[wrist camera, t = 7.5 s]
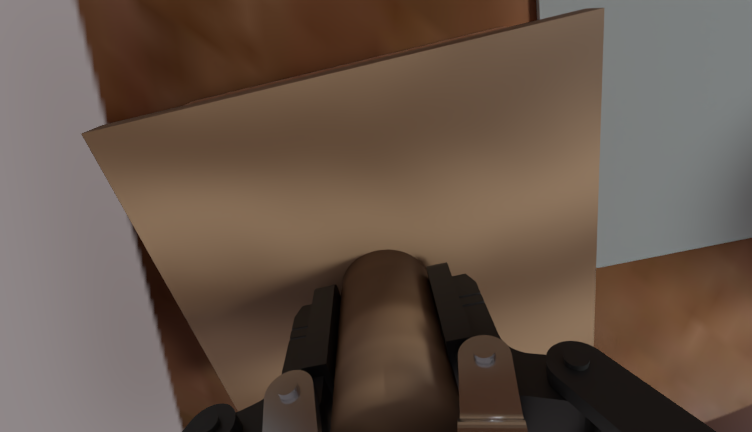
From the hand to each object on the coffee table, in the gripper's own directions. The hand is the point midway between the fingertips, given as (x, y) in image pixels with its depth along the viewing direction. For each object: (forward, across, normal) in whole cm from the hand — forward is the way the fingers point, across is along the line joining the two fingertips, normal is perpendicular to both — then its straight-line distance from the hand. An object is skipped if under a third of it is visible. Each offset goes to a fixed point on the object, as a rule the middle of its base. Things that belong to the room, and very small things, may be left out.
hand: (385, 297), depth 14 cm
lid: (+2, 0, 0) cm, 2 cm away
